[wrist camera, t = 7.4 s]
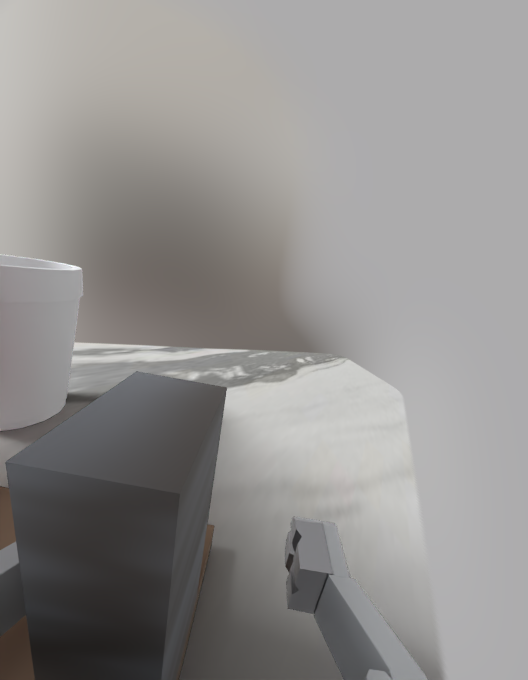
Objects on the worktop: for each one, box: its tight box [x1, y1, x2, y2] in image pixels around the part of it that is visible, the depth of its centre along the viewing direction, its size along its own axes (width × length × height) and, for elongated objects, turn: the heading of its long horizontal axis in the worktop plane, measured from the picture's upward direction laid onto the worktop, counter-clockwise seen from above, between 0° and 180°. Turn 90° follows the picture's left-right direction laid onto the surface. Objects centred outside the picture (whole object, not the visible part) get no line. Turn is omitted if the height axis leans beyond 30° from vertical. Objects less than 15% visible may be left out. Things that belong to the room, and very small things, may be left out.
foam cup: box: [0, 254, 83, 431], centre depth 20 cm, size 10×9×13 cm
